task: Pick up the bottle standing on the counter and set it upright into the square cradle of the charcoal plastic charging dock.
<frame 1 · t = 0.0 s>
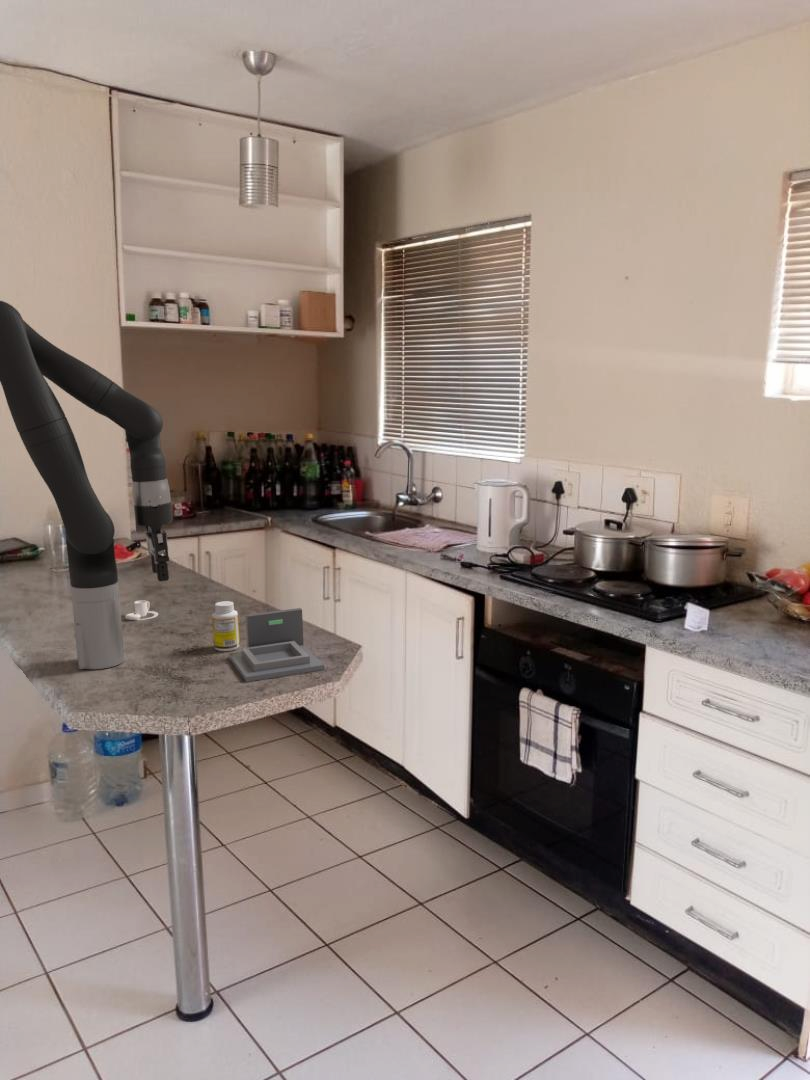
hand: (160, 576, 179), 17 cm above the counter, tool pointing down, fingers open, 8 cm apart
charging dock: (275, 663, 175), on the counter
teacup and saucer: (129, 618, 212), on the counter
supplement bottle: (227, 649, 185), on the counter
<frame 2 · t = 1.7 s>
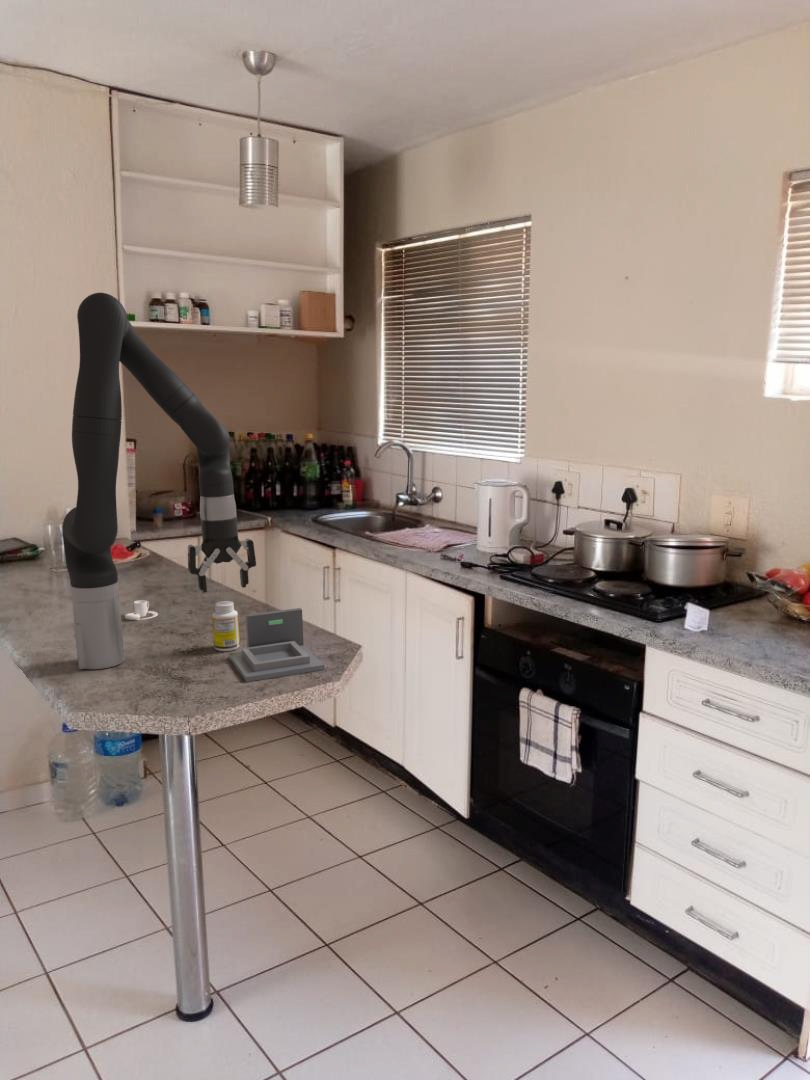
hand: (224, 589, 183), 13 cm above the counter, tool pointing down, fingers open, 8 cm apart
nothing on the counter moved.
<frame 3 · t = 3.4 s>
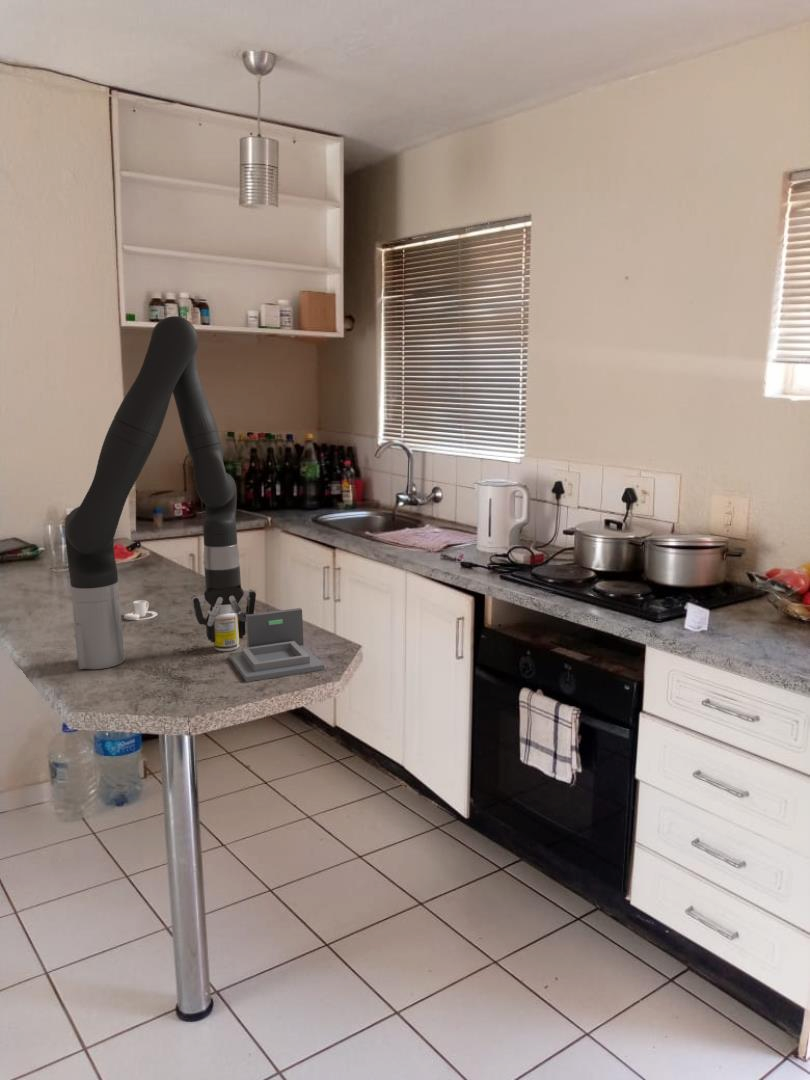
hand: (226, 639, 185), 2 cm above the counter, tool pointing down, fingers closed on supplement bottle, 5 cm apart
supplement bottle: (227, 649, 185), on the counter, touching gripper
everything else where it was.
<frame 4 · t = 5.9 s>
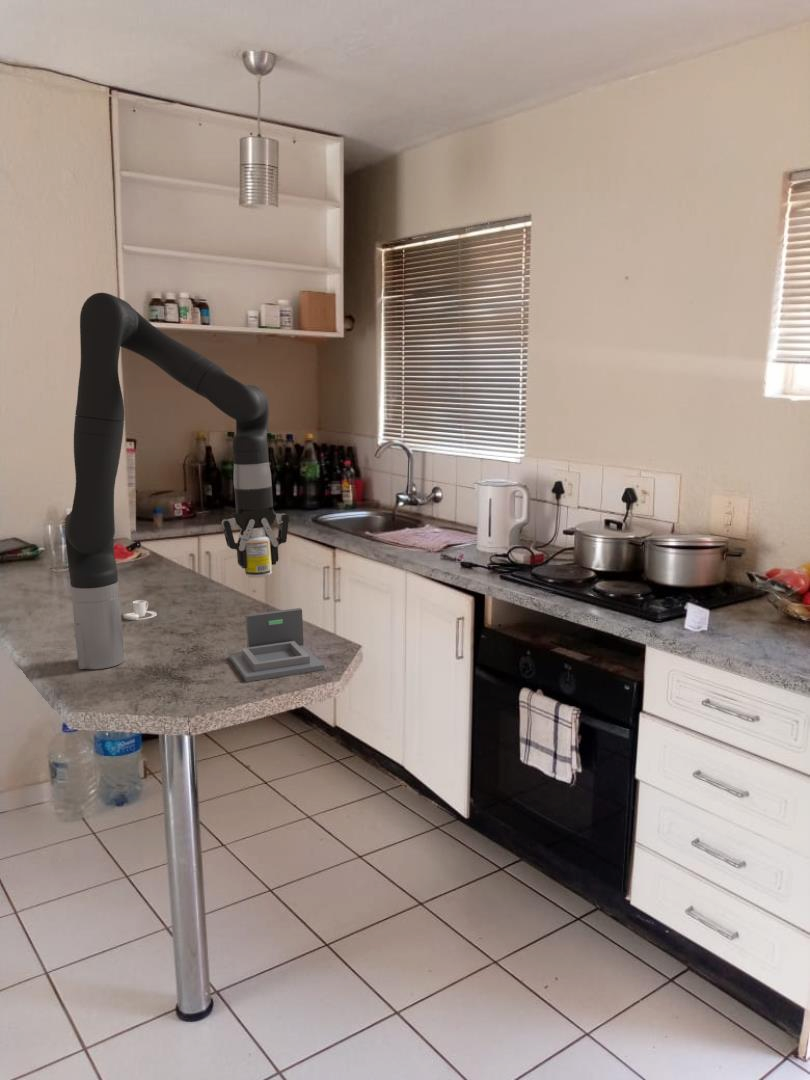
hand: (258, 565, 174), 20 cm above the counter, tool pointing down, fingers closed on supplement bottle, 5 cm apart
supplement bottle: (259, 576, 175), point 18 cm above the counter, touching gripper
everything else where it was.
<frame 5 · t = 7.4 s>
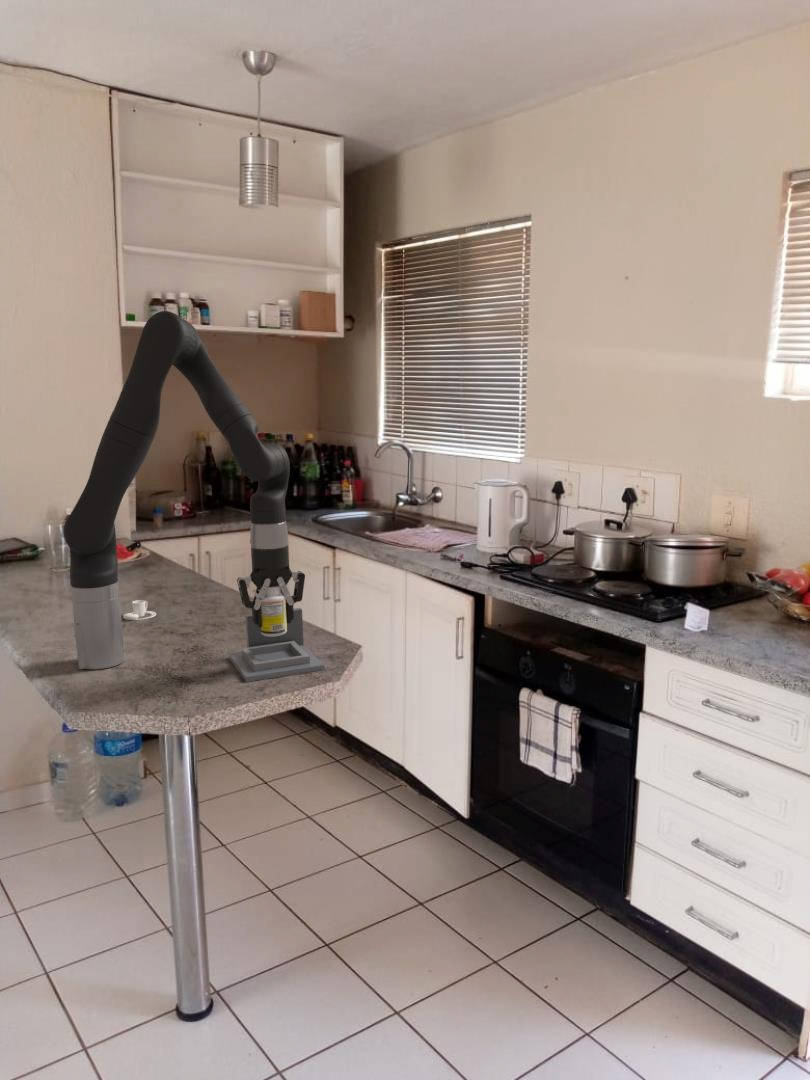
hand: (273, 623, 173), 9 cm above the counter, tool pointing down, fingers closed on supplement bottle, 5 cm apart
supplement bottle: (273, 634, 174), point 6 cm above the counter, touching gripper
everything else where it was.
when the fingers open (4 cm above the counter, at t = 8.8 s): supplement bottle drops 1 cm, resting on charging dock.
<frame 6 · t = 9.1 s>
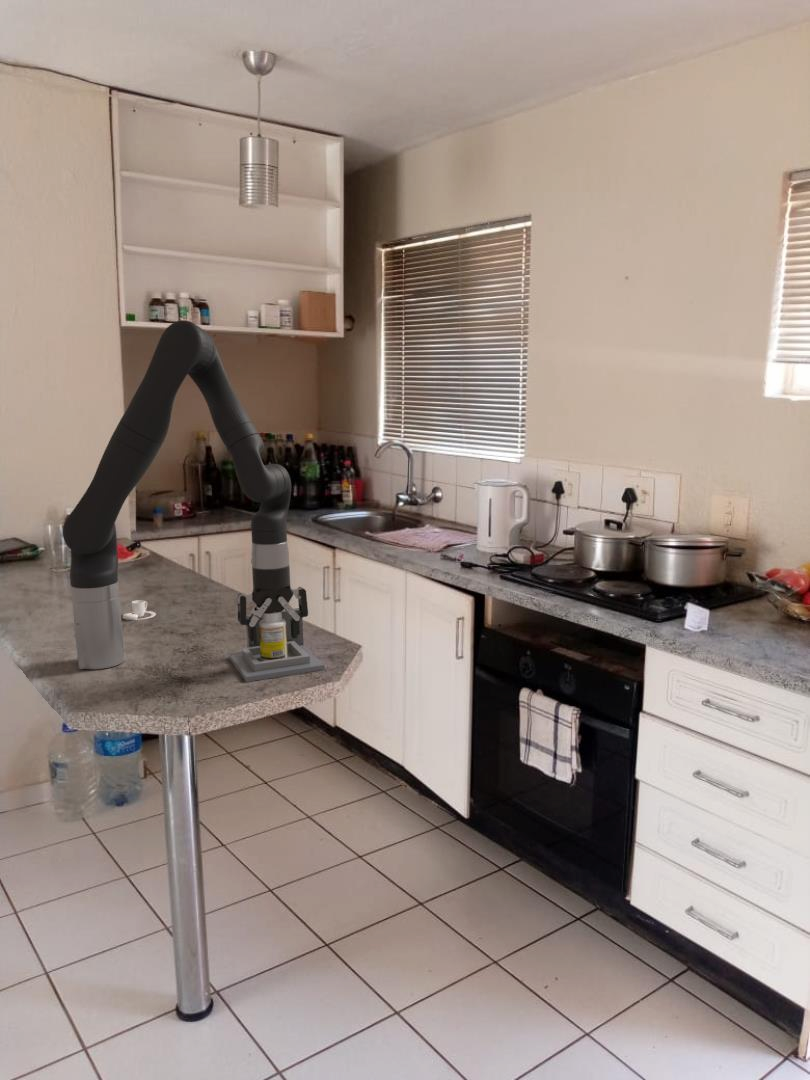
hand: (274, 640, 174), 5 cm above the counter, tool pointing down, fingers open, 8 cm apart
supplement bottle: (274, 659, 174), point 1 cm above the counter, touching charging dock
everything else where it was.
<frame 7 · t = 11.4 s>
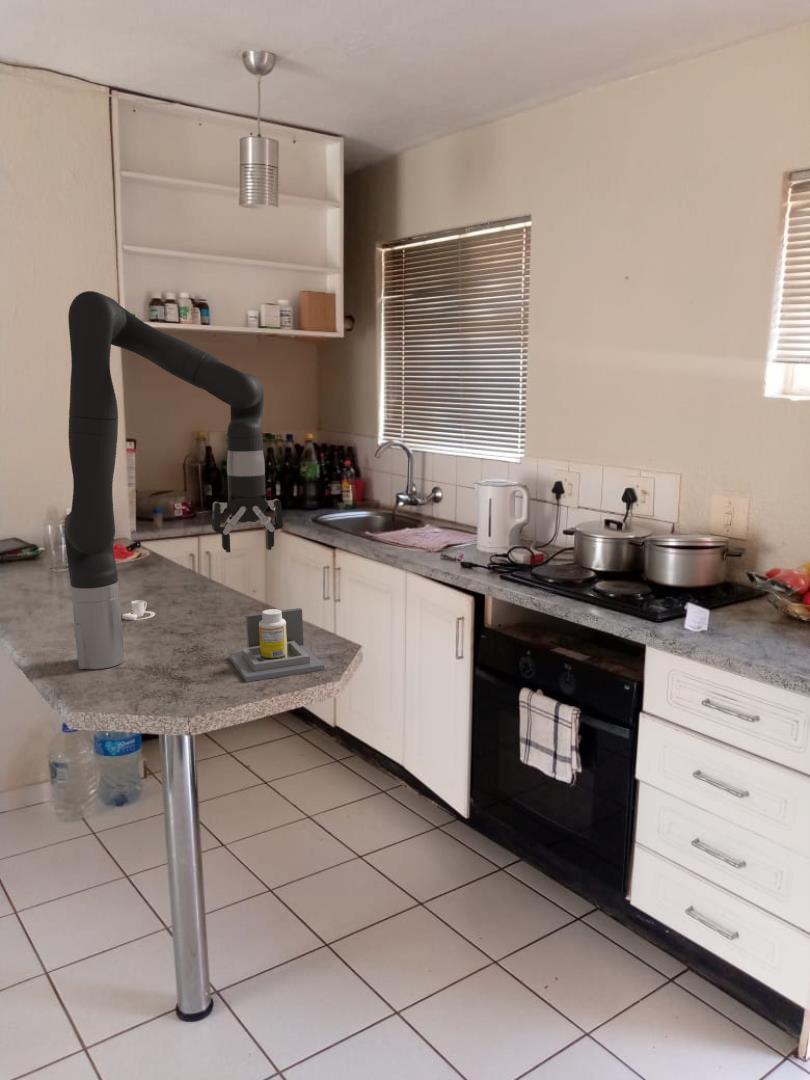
hand: (248, 550, 175), 23 cm above the counter, tool pointing down, fingers open, 8 cm apart
nothing on the counter moved.
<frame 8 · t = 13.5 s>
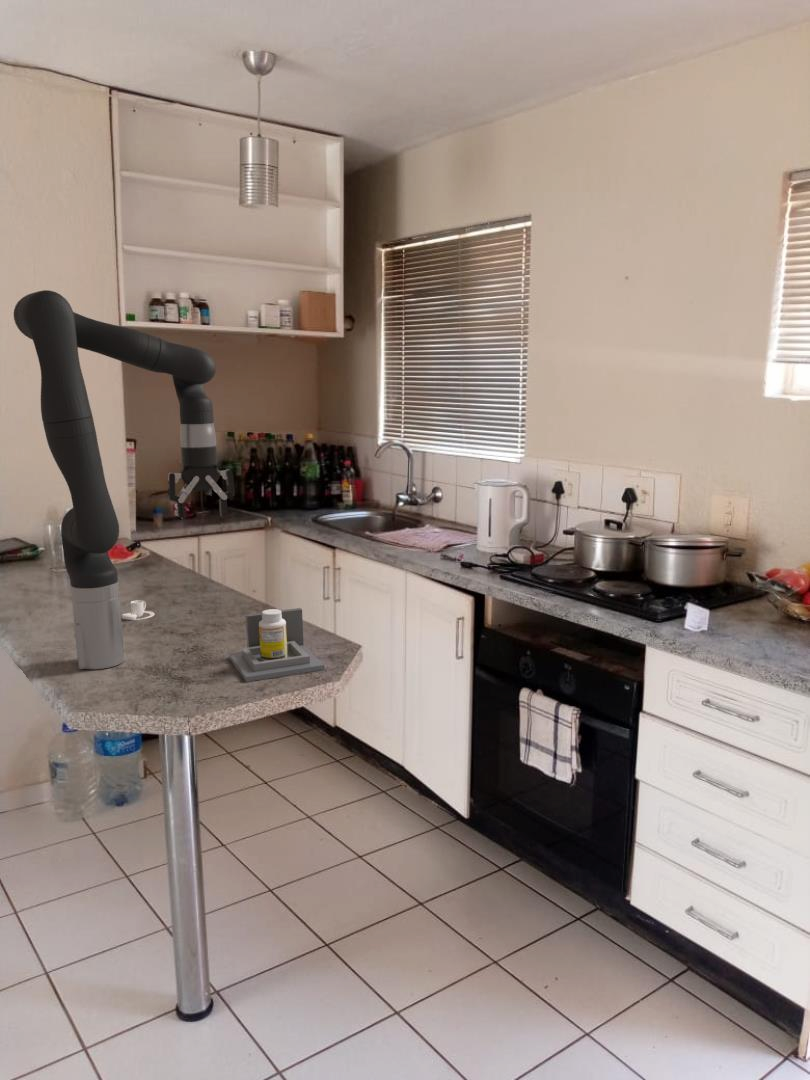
hand: (203, 517, 187), 28 cm above the counter, tool pointing down, fingers open, 8 cm apart
nothing on the counter moved.
at the end: supplement bottle 0.2 cm off-centre on the charging dock, point 0.8 cm above the charging dock's base; supplement bottle tilted 0°; the gripper is holding nothing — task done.
